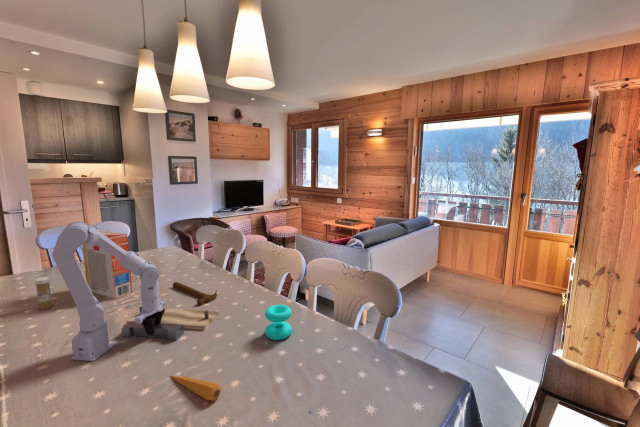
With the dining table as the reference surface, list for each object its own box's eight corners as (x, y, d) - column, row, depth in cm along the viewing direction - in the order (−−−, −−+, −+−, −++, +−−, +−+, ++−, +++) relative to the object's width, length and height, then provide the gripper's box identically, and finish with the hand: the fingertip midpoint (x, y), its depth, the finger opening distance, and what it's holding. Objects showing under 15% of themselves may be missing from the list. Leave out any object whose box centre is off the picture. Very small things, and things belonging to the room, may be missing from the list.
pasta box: (132, 292, 146) (127, 233, 142) (115, 299, 139) (109, 237, 134) (104, 284, 156) (98, 229, 151) (87, 290, 148) (80, 232, 144)
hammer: (166, 290, 150) (200, 306, 133) (166, 284, 150) (200, 300, 132) (188, 283, 160) (222, 298, 142) (188, 278, 159) (222, 292, 142)
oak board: (204, 329, 113) (203, 319, 113) (127, 324, 116) (126, 314, 116) (218, 314, 125) (217, 304, 124) (147, 310, 128) (146, 300, 127)
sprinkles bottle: (36, 310, 127) (32, 280, 125) (42, 305, 131) (38, 277, 129) (49, 309, 128) (45, 279, 126) (55, 304, 133) (51, 276, 131)
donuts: (289, 301, 116) (293, 313, 106) (289, 325, 117) (294, 339, 108) (263, 304, 113) (265, 317, 103) (264, 328, 114) (266, 343, 105)
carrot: (222, 400, 80) (224, 382, 81) (209, 405, 76) (212, 386, 77) (174, 382, 89) (177, 366, 90) (160, 385, 86) (164, 368, 87)
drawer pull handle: (176, 340, 106) (175, 331, 105) (122, 337, 108) (121, 328, 107) (184, 333, 111) (183, 324, 110) (132, 329, 113) (131, 321, 112)
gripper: (147, 306, 100) (150, 343, 102) (172, 289, 114) (174, 322, 116) (128, 305, 100) (131, 342, 102) (155, 288, 115) (158, 321, 117)
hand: (153, 331), depth 109 cm, fingers closed on drawer pull handle, 3 cm apart
